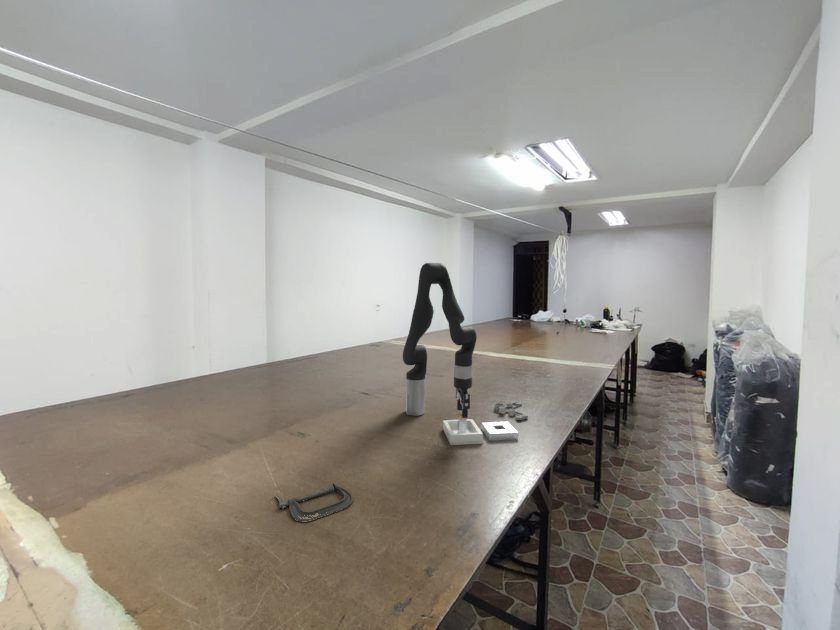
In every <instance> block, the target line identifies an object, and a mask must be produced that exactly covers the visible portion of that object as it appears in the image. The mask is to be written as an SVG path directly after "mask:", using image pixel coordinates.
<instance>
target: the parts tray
mask: <svg viewBox="0 0 840 630" xmlns="http://www.w3.org/2000/svg"><path fill="white" fill-rule="evenodd" d="M442 430H443V432H444V434H445V436H446V439H447V440H448V442H449V444H450V446H458V445H460V446H461V445H479V444H480V445H481V444H484V441H483V440H484V432H483V431H482V430H481V428H480V427H479V426H478V425H477V424H476V422H475V420H474V419H473V418H470V419H469V418H468V419H467V426H466V433H458V419H447V420H444V419H443V420H442Z"/></svg>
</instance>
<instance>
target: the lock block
mask: <svg viewBox="0 0 840 630" xmlns="http://www.w3.org/2000/svg"><path fill="white" fill-rule="evenodd" d="M480 426H481V427H480V430H481V432H482V433H483V435H485V436H486V438H487V440H488V441H490V442H493V441H494V442H495V441H511V440H512V441H513V440H515V439H516V440H519V432H518V430H517V429H516V428H515V427H514V426H513V425H512V424H511V423H510V422H509V421H489V422H481V423H480Z"/></svg>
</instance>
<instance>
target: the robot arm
mask: <svg viewBox="0 0 840 630" xmlns="http://www.w3.org/2000/svg"><path fill="white" fill-rule="evenodd" d="M449 274H450V273H449V271H448V268H447V267H446V265H445V264H443V263H441V262H426V263H424V264H423V265H422V266H421V268H420V271H419V277H418V285H417V293H416V298H415V304H414V308H413V312H412V316H411V322H410V327H409V330H408V335H407V337H406V341H405V343H404V347H403V351H402V361H403V364H405V365H406V366H413V367H412V368H411V369H409V370H408V371H407V372H406V374H405V375H406V376H405V377H406V378H405V381H406V385H405V413H406V415H407V416H416V417H417V416H421V415H422V416H423V415H424V414H426V374H427V364H428V351H427V348H426V346H425V345H422V344H418V343H419V342H420V339H421V338H422V337H423V336H424V334H425V333H426V332H427V331H428V329H429V328H430V327H431V325H432V321H433V318H434V311H435V310H434V307H433V303H432V302H431V298H430V291H431V287H432V285H439V287H440V289H441V291H442V299H441V300H442V301H441V302H442V303H441V308H442V311H443V314H444V316H445V319H446V321H447V323H448V329H449V336H450V339H451V341H452V342H453V343H454V344H455V345H456V346H461V347H460V349H458V350H456V351H455V353H454V368H453V386H454V388H455V399H456V404H457V405H456V407H457V408H456V410H457V411H461V413H462V417H463V418H468V416H469V415H468V414H469V413H468V412H469V411H468V410H470V408H471V404H470V403H471V395H470V393H469V391H468V390H470V389H472V388H473V354H474V351H475V348H476V343H477V338H478V337H477V332H476V330H475V329H474V328H473V327H472V326H464V327H462V326H461V324H463V322H464V321H465V316H464V313H463V311H462V308H461V307H460V305H459V302H458V301H457V298H456V295H455V292H454V289H453V285H452V281H451V278H450V275H449Z"/></svg>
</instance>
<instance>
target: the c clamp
mask: <svg viewBox="0 0 840 630" xmlns="http://www.w3.org/2000/svg"><path fill="white" fill-rule="evenodd" d="M335 491H338V492H339V493H338V492H337V493H338V494H340V496H341V497H342V496H343V497H342V499H341V500H339V501H337V502H333V503H331V504H329V505H326V506H322V507H320V508H317V509H314V510H311V511H306V510H303V508H302V507H301V505H300V503H302V502H301V501H303V500H306V499H309V500H311V499H310V498H312V499H314V498H313V497H315V498H317V497H316V496H318V497H321V496H323V495H322V494H324V495H326V494H325V493H327V494H329V493H331V492H332V493H333V492H335ZM335 493H336V492H335ZM320 495H321V496H320ZM277 499H278V501H279V502H278V501H277V502H278V506H279V507H278V508H279V509H280V508H282V509H281V510H285V509H286V507H285V506H288V507H289V508H288V511H289V514H290V516H291V515H292V516H291V517H293V518H294V519H296V520H298V521H309V520H313V519H316V518H318V517H321V516H324V515H327V514H330V513H332V512H336V511H338V510H341V509H344V508H346V509H348V508H349V507H350V506H351V505H352V504H353V502H354V497H353V495H352V493H351V492H350V491H349V490H347V489H345V488H343V487H342V486H338V485H337V484H336V483H332V484H331V485H330V487H329V488H326V489H325V488H324V489H322V490H319V491H316V492H315V491H314V492H313V493H309V494H307V495H303V496H300V497H297V498H296V497H292V498H289V499H287V501H285V502H282V501H281V499H280V498H279V497H278V498H277ZM277 499H276V500H277ZM306 501H307V500H306ZM298 502H300V503H298ZM303 502H304V501H303ZM279 503H280V504H279ZM347 507H348V508H347ZM284 508H285V509H284ZM344 510H345V509H344ZM341 511H342V510H341ZM326 512H327V513H326ZM316 513H318V514H319V515H318V516H317V517H313V516H312V515H315V514H316ZM336 513H337V512H336ZM320 514H321V515H320ZM304 515H305V516H304ZM307 515H308V516H307ZM309 515H311V516H312V517H313V518H312V517H311V516H309ZM330 515H331V514H330ZM298 516H299V517H301V518H302V517H304V518H305V517H308V518H311V519H303V518H302V519H300V518H299V517H298ZM293 518H292V519H293ZM294 519H293V520H294Z"/></svg>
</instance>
